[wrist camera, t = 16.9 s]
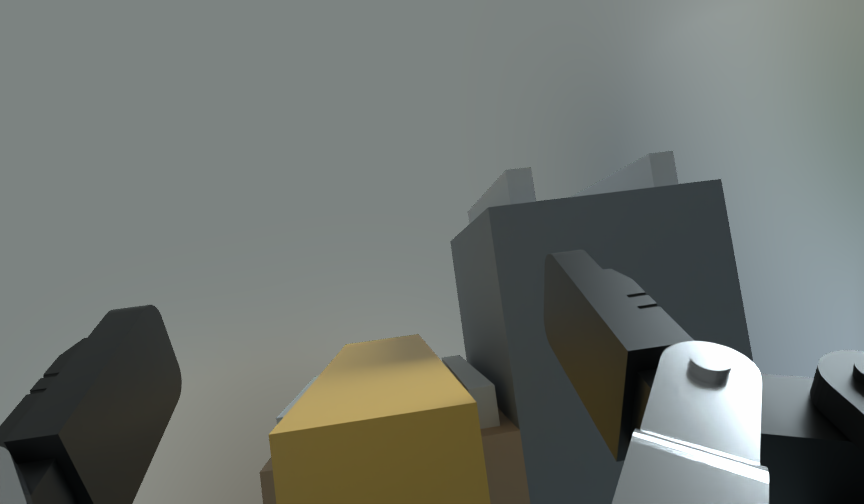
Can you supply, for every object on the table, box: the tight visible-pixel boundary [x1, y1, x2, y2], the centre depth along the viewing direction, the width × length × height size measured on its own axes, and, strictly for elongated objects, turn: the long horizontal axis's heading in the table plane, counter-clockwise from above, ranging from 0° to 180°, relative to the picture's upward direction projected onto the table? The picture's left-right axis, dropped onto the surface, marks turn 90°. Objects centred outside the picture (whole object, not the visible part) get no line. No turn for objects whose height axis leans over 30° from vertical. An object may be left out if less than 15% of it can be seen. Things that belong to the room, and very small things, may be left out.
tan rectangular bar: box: [269, 334, 491, 504], centre depth 19 cm, size 19×4×3 cm, turn 5°
